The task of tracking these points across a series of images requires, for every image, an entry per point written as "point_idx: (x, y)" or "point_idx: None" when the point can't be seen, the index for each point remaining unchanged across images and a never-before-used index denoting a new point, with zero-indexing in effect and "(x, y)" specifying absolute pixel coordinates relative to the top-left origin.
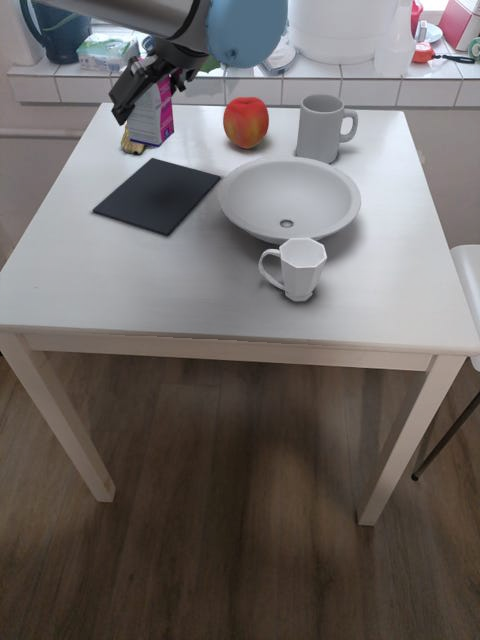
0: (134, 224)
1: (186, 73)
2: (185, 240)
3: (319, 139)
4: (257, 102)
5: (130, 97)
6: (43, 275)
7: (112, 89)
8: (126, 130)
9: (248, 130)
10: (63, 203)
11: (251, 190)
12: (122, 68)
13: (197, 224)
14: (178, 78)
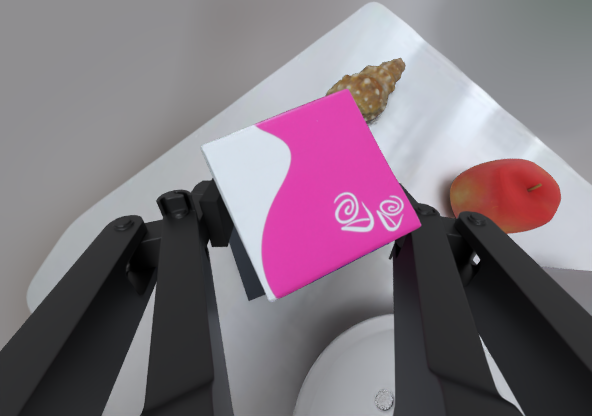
0: (232, 251)
1: (457, 252)
2: (260, 323)
3: None
4: (549, 201)
5: (135, 326)
6: None
7: (86, 255)
8: (339, 86)
9: None
10: (199, 150)
11: (386, 335)
12: (222, 142)
13: (294, 306)
14: (394, 316)
